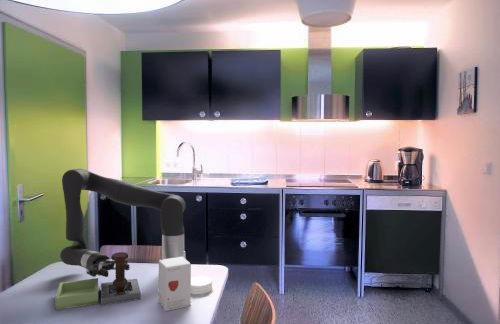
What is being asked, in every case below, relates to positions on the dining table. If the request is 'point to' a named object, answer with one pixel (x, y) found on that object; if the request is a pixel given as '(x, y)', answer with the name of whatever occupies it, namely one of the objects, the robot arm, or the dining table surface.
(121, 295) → the square frame
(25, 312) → the dining table surface
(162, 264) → the supplement box
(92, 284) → the tray
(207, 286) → the white round disc
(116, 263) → the bolt
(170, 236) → the robot arm
